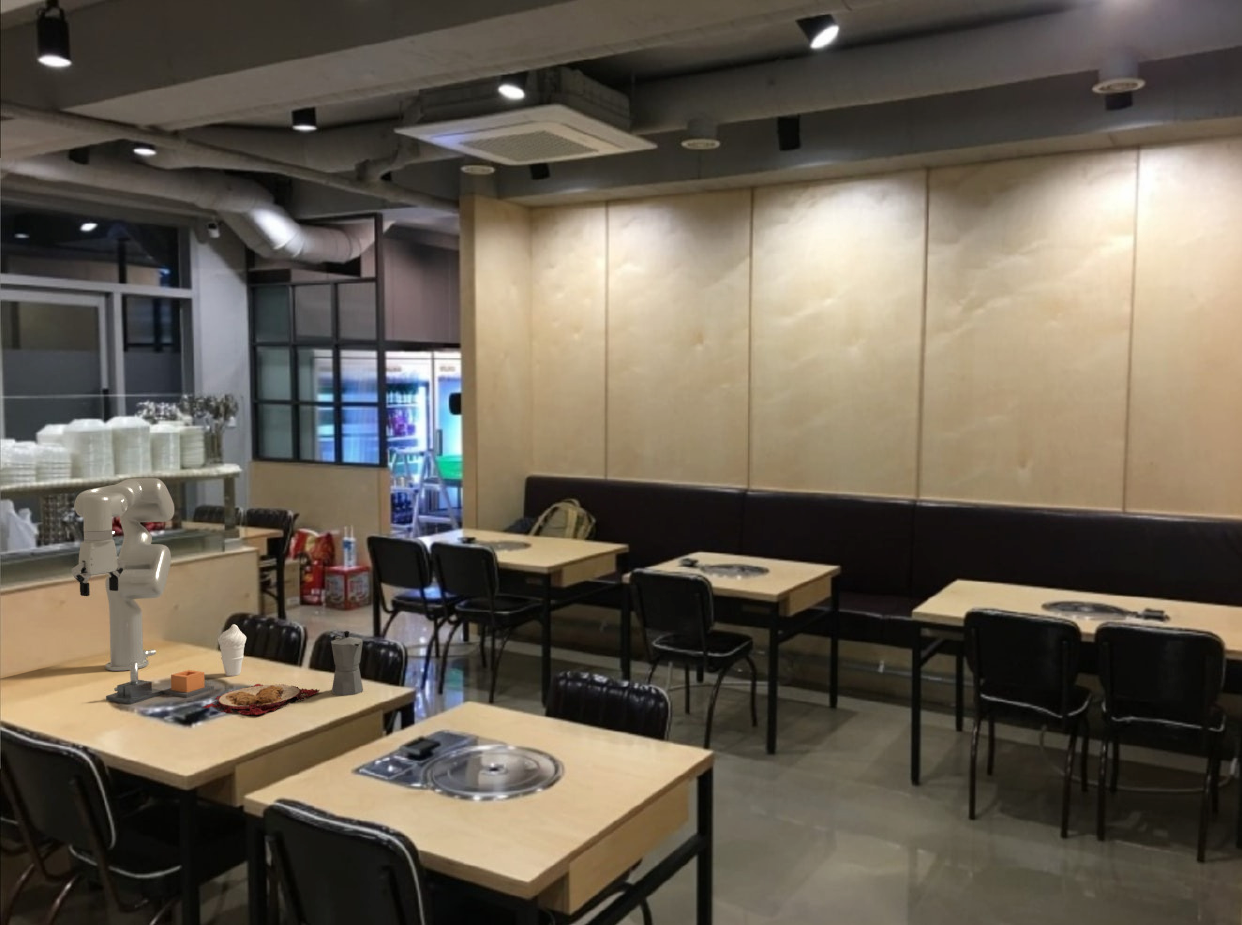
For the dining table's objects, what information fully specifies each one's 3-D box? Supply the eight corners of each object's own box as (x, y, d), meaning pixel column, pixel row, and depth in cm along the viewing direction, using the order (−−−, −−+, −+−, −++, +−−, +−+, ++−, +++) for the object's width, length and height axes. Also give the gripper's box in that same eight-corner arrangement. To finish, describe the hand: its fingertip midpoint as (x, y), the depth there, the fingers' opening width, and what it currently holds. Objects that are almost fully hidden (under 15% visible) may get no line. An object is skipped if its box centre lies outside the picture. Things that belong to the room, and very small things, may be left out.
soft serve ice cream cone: (212, 676, 312) (211, 625, 312) (230, 670, 320) (229, 620, 320) (235, 678, 310) (234, 627, 309) (252, 672, 318) (251, 622, 317)
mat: (189, 685, 302) (189, 682, 302) (213, 688, 298) (213, 686, 298) (161, 693, 293) (161, 690, 293) (186, 697, 289) (186, 694, 289)
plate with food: (321, 696, 293) (321, 684, 293) (258, 718, 270) (258, 705, 270) (257, 689, 302) (257, 677, 302) (191, 709, 279) (191, 697, 279)
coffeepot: (373, 692, 294) (372, 632, 293) (344, 699, 287) (343, 637, 287) (347, 682, 305) (346, 624, 304) (318, 688, 298) (317, 628, 298)
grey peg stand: (138, 690, 297) (138, 657, 296) (162, 694, 292) (162, 660, 292) (106, 699, 287) (105, 665, 286) (130, 704, 282) (129, 669, 282)
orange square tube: (189, 684, 300) (188, 669, 300) (204, 687, 297) (204, 672, 297) (171, 689, 294) (170, 674, 294) (186, 692, 291) (186, 677, 291)
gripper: (114, 532, 309) (116, 587, 309) (63, 538, 293) (64, 596, 294) (132, 533, 305) (133, 589, 306) (80, 540, 290) (81, 598, 290)
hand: (99, 593), depth 300 cm, fingers open, 9 cm apart
